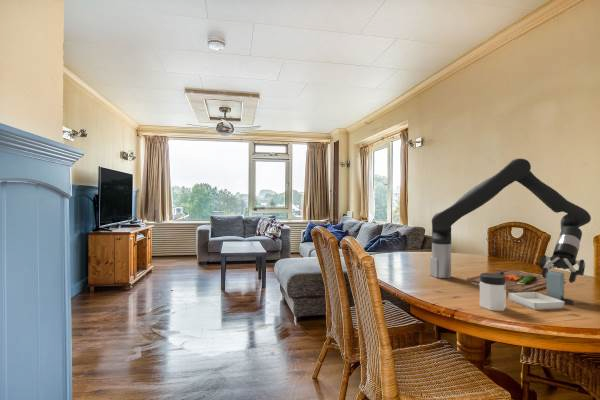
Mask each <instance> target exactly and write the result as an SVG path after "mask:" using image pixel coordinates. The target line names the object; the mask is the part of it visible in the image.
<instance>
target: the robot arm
mask: <svg viewBox="0 0 600 400" xmlns="http://www.w3.org/2000/svg"><path fill="white" fill-rule="evenodd" d="M531 169H532V167H531V162H529V160H527V159H525V158H514V159H512V160H511V161H509V162H508V164H506V166H504V167H503V168H502V169H501V170H499V171H498V172H497V173H495V174H494V175H492V176H491V177H489V178H487V179H485V180H483V181H482V182H480V183H479V184H477V185H475V186H474V187H473V188H471V189H469V190H468V191H467V192H466V193H465V194H463V195H462V196H461V197H459V198H458V200H456V202H454V203H453V204H452V205H450V206H449V207H448V208H446V209H444V210H443V211H440V212H437V213H435V214H434V215H433V217H432V219H431V257H429V258H430V259H429V260H430V261H429V262H430V263H429V267H430V268H429V271H430V272H429V273H430V274H429V276H432V277H435V278H437V279H438V278H439V279H450V278H452V225H454V224H455V223H456V222H457V221H459V220H460V219H462V218H463V217H464V216H466V215H468V214H470V213H472V212H473V211H475V210H478V209H479V208H480V207H482V206H484V205H485V204H486V203H488V202H489V201H491V200H492V199H494V198H495V197H496V196H497V195H498V194H499V193H500V192H501V191H503V190H504V189H505V188H506V187H508V186H509V185H511V184H513V183H514V182H517V183H518V184H521V186H523V187H525V188H526V189H527V190H528V191H530V192H531V193H532V194H533V195H534V196H535V197H536V198H538V199H539V200H540V201H541V202H542V203H543V204H544V205H545V206H546V207H547V208H548V209H550V210H551V211H552V212H554V213H557V214H559V213H562V212H563V213H566V214H565V215H563V217H562V218H561V219H560V230H561V231H560V234H559V237H558V239H557V240H556V243H555V246H554V249H553V253H552V255H551V256H547V255H546V254H543V255H542V256H541V259H540V261H539V264H538V267H539V269H540V270H541V275H542V276H543V277H544V278H547V273H548V272H550V270H554V269H555V268H557V269H563V270H569V272H570V274H569V279H568V282H569V283H571V284H573V283H574V282H576V280H577V276H584V274H585V269H586V263H585V260H584V259H580V260H578V259H577V257H578V253H579V251H580V247H581V246H580V243H581V240H582V236H583V231H582V229H581V227H583V226H585V225H587V224H589V223H590V222H591V220H592V217H591V215H590V213H589V212H588V211H587V210H586V209H584V208H583V207H581V206H579V205H577V204H575V203H573V202H571V201H569V200H568V199H566V198H565V197H563V195H562V194H561V193H559V192H558V191H557V190H555V189H554V188H553V187H551V186H550V185H547V184H546V183H545V182H543V181H542V180H541V179H539V178H538V177H536V176H535V175H534V173H533V172H532V171H531ZM576 264H577V267H578V269H577V270H576V268H575V267H574V266H576Z"/></svg>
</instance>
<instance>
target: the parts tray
mask: <svg viewBox="0 0 600 400" xmlns="http://www.w3.org/2000/svg"><path fill="white" fill-rule="evenodd" d="M507 294H508V295H507V300H509V301H511V302H513V303H515V304H518V305H520V306H524V307H526V308H529V309H531V310H534V311H543V310H558V309H559V310H560V309H565V308H566V307H565V305H566V303H565V302H564V301H561V300H558V299H555V298H552V297H549V296H546V295H547V294H546V295H543V294H544V293H541V294H540V292H537V291H533V292H522V293H515V292H507Z"/></svg>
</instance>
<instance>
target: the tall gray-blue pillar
mask: <svg viewBox="0 0 600 400" xmlns="http://www.w3.org/2000/svg"><path fill="white" fill-rule="evenodd" d="M546 295H547V296H549V297H552V298H555V299H558V300H561V298H565V273H564V272H558V271H548V273H547V288H546Z"/></svg>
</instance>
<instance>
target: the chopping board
mask: <svg viewBox="0 0 600 400" xmlns="http://www.w3.org/2000/svg"><path fill="white" fill-rule="evenodd" d="M493 273H495V274H500V275H503V276H505V283H506V293H508V292H510V293H515V292H516V293H522V292H537V291H540V290H543V289H547V278H544V277H543V276H542V274H539V273H538V274H537V273H531V272H525V271H520V270H512V269H504V270H499V271H494V272H493ZM466 281H468V282H470V283H471V284H472V285H476V286H480V275H475V276H470V277H468V278H466Z"/></svg>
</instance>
